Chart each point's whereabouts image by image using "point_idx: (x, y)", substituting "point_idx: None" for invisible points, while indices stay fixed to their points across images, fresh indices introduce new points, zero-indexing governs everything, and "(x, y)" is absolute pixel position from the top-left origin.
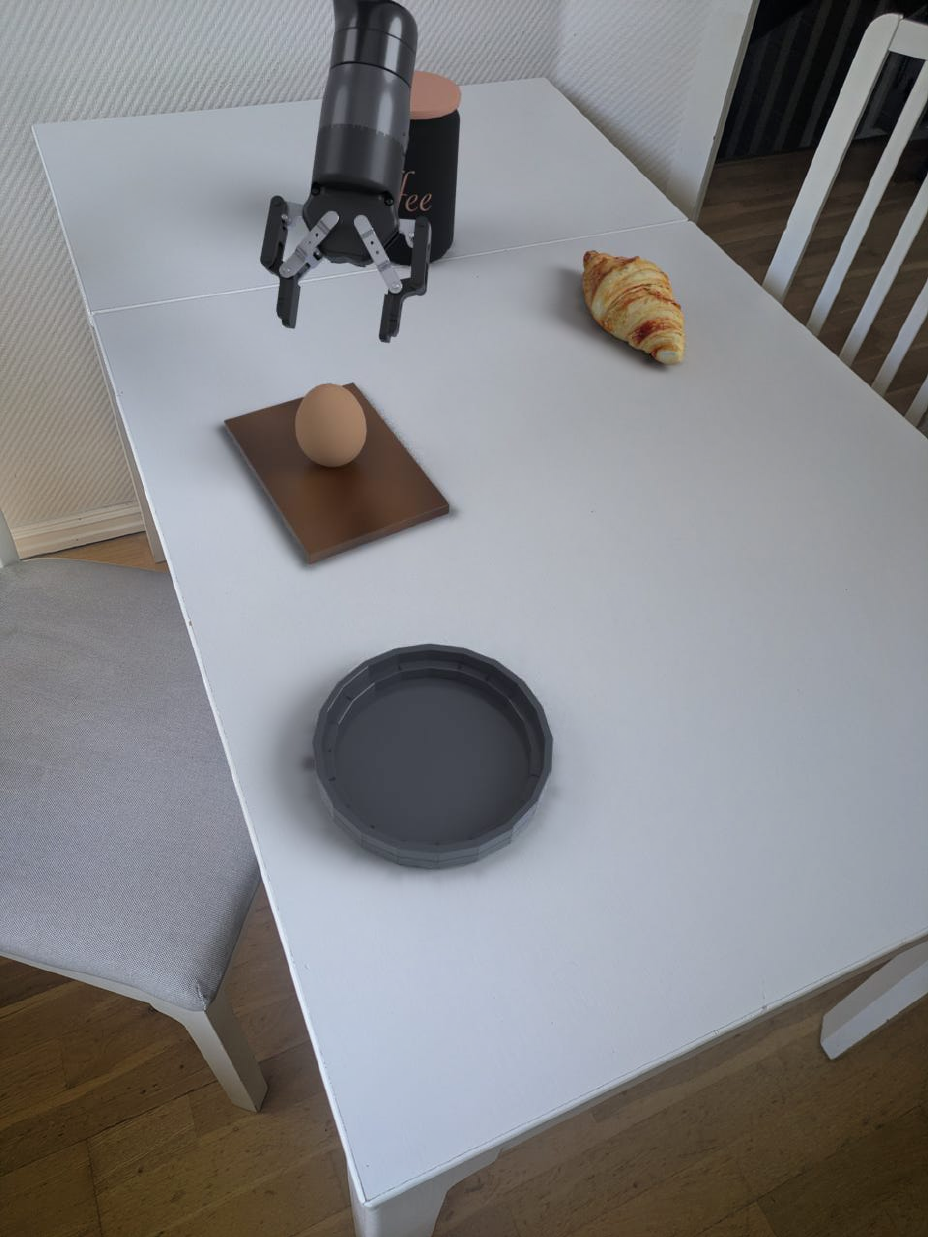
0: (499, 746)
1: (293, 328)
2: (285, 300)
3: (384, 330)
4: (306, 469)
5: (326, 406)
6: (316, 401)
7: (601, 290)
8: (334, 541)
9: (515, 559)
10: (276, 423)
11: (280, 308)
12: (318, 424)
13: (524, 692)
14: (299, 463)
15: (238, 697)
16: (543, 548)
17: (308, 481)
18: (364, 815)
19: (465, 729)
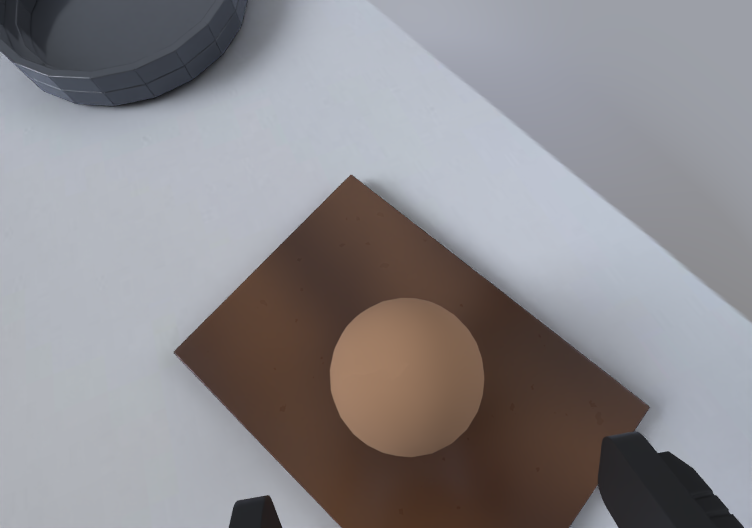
0: (62, 36)
1: (598, 475)
2: (685, 496)
3: (242, 517)
4: None
5: (395, 321)
6: (424, 325)
7: None
8: (326, 209)
9: (65, 299)
10: (553, 438)
11: (682, 477)
12: (404, 302)
13: (11, 49)
14: None
15: (348, 5)
16: (22, 338)
17: None
18: None
19: (101, 42)
